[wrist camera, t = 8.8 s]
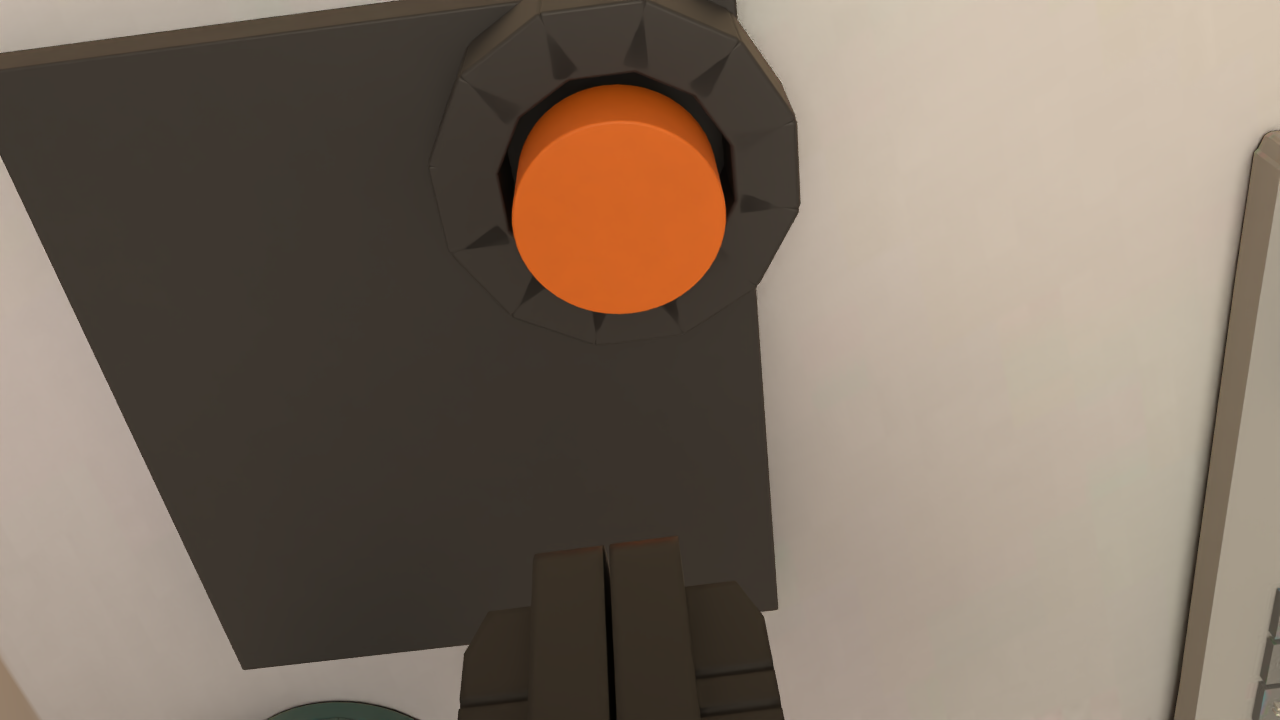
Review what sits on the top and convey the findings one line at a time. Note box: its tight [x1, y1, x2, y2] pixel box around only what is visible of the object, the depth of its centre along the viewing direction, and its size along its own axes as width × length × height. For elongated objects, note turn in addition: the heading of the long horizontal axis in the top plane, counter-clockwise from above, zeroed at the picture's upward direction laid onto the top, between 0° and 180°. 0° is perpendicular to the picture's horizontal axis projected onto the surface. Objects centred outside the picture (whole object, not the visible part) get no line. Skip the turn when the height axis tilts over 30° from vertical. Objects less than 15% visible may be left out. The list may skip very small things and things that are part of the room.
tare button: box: [512, 84, 726, 314], centre depth 19 cm, size 4×4×2 cm
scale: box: [0, 0, 800, 670], centre depth 24 cm, size 15×16×3 cm
